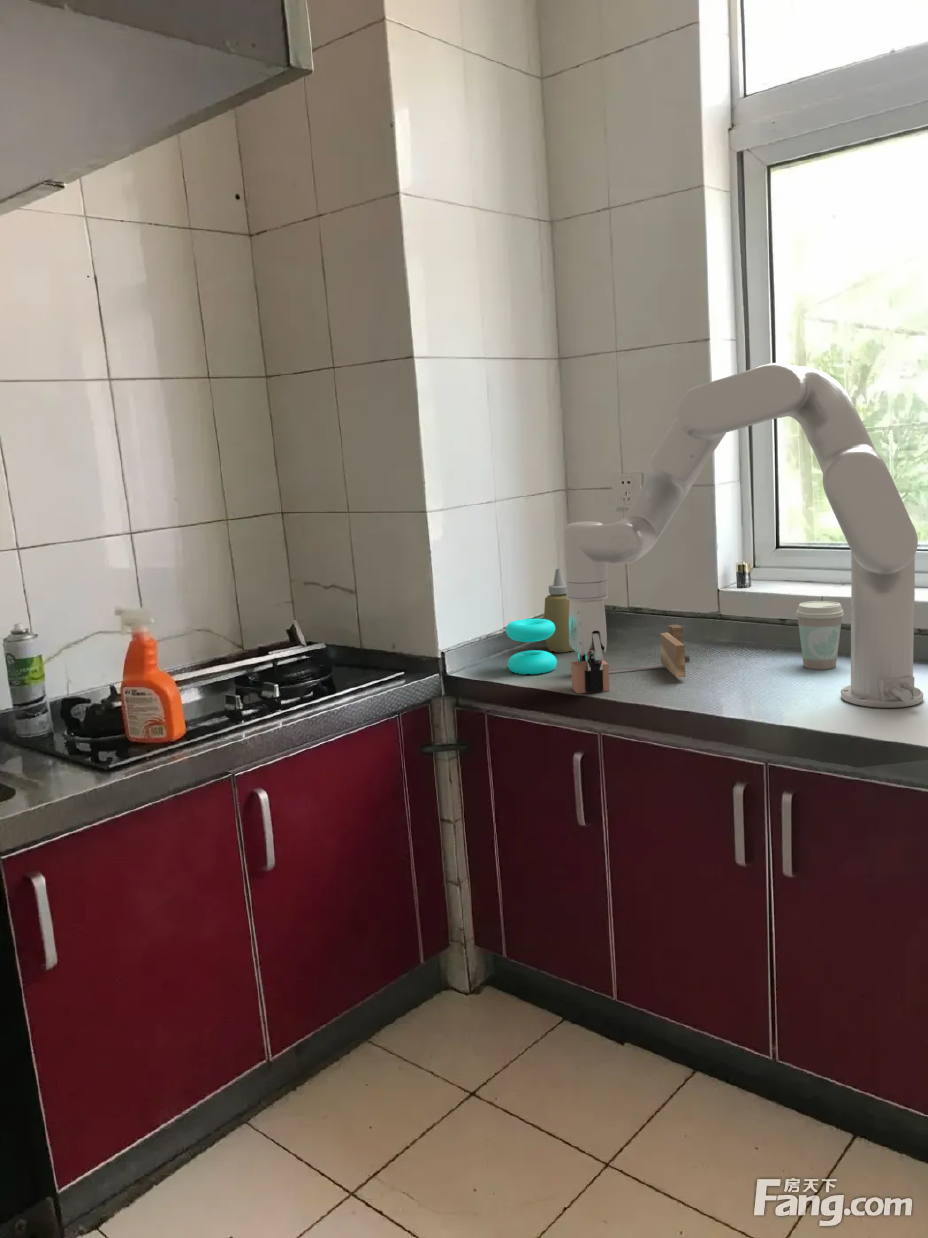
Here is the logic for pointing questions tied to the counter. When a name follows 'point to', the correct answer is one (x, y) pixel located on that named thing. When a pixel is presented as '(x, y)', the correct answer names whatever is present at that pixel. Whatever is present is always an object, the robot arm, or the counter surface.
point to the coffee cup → (819, 633)
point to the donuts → (533, 658)
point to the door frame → (676, 633)
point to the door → (673, 654)
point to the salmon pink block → (579, 676)
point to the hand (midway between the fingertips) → (591, 687)
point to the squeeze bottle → (558, 614)
